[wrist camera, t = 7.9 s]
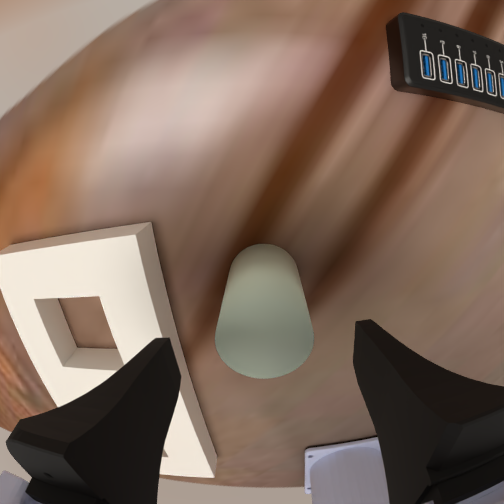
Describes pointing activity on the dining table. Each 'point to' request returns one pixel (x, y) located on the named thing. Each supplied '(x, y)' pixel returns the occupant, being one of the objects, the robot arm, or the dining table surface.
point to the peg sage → (264, 315)
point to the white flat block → (118, 316)
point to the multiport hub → (445, 62)
